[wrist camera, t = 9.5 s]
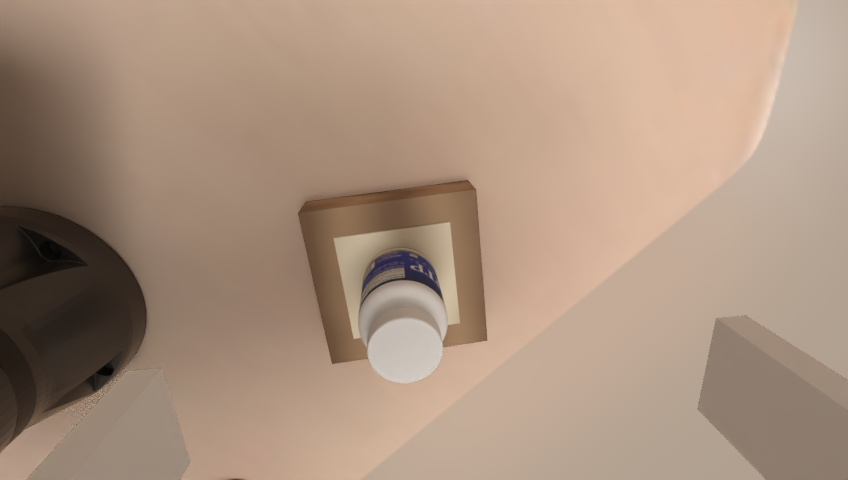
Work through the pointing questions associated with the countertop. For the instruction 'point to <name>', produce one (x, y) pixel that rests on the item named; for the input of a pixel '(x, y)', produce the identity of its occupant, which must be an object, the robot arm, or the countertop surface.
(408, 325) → the pill bottle
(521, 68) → the countertop surface
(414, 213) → the stand
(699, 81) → the countertop surface
